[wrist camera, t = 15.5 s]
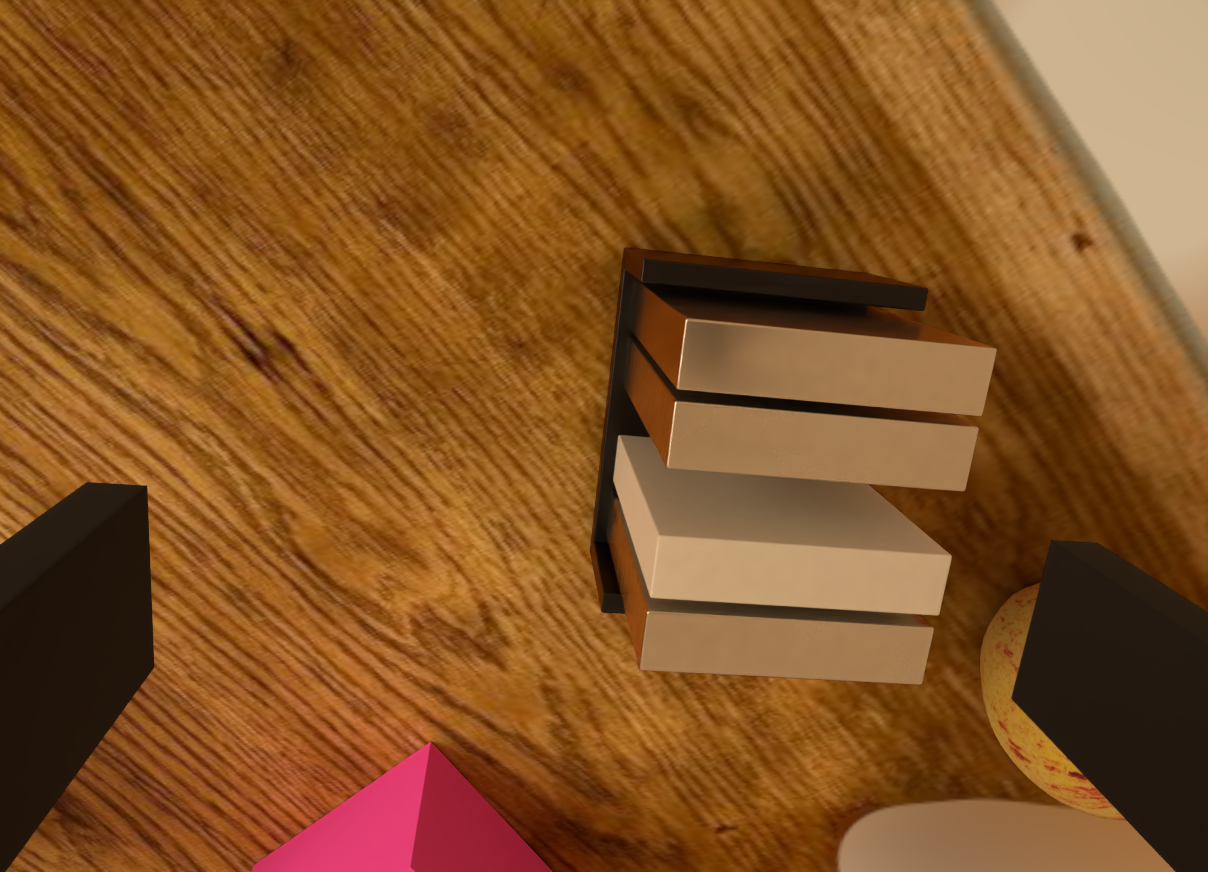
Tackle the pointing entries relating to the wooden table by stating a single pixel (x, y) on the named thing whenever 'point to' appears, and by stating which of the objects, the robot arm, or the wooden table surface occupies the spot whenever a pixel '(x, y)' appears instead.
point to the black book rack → (778, 439)
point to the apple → (1015, 726)
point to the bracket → (409, 828)
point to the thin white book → (773, 539)
